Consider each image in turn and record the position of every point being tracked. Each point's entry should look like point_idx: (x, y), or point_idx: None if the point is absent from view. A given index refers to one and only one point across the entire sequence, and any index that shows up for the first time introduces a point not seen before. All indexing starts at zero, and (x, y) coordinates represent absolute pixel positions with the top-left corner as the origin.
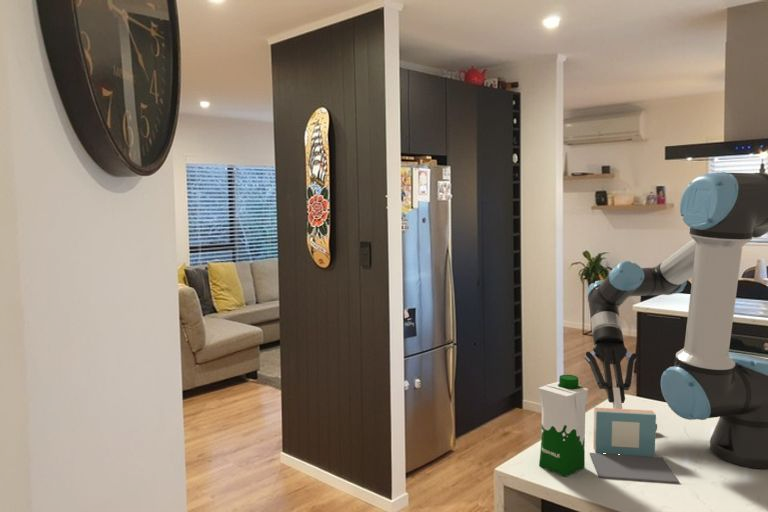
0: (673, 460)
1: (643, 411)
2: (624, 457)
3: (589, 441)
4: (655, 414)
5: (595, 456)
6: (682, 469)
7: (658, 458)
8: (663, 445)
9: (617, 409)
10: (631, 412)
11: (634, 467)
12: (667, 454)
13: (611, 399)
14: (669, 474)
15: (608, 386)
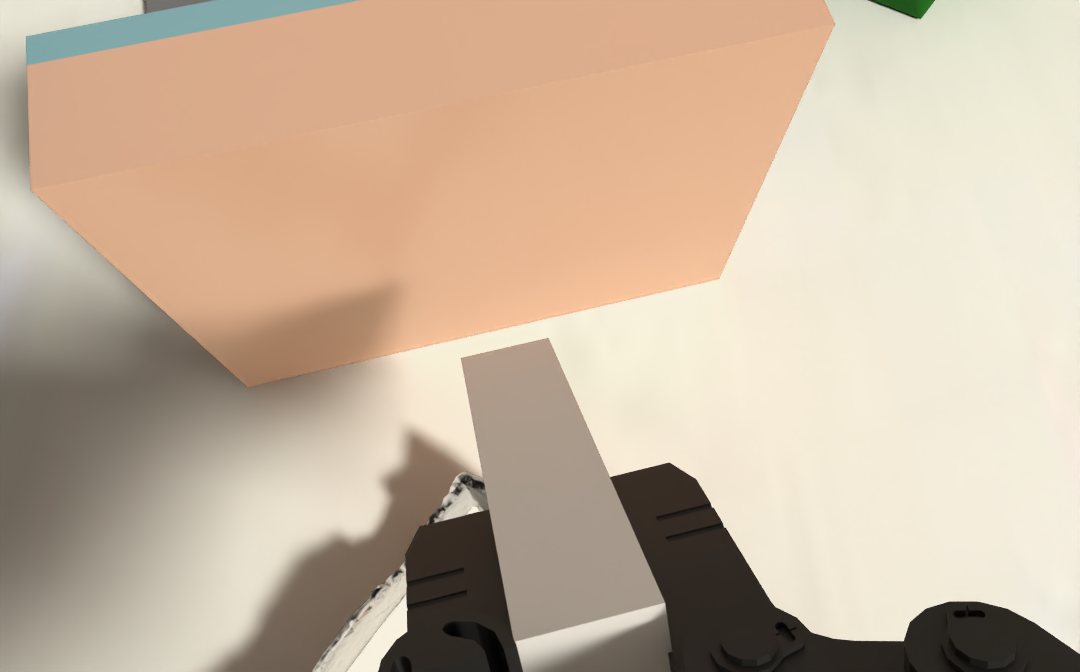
0: (97, 275)
1: (171, 110)
2: None
3: (776, 409)
4: (27, 56)
5: None
6: None
7: None
8: (108, 587)
9: (524, 57)
10: (341, 18)
11: None
12: (118, 379)
13: (648, 476)
14: (181, 4)
15: (780, 612)
